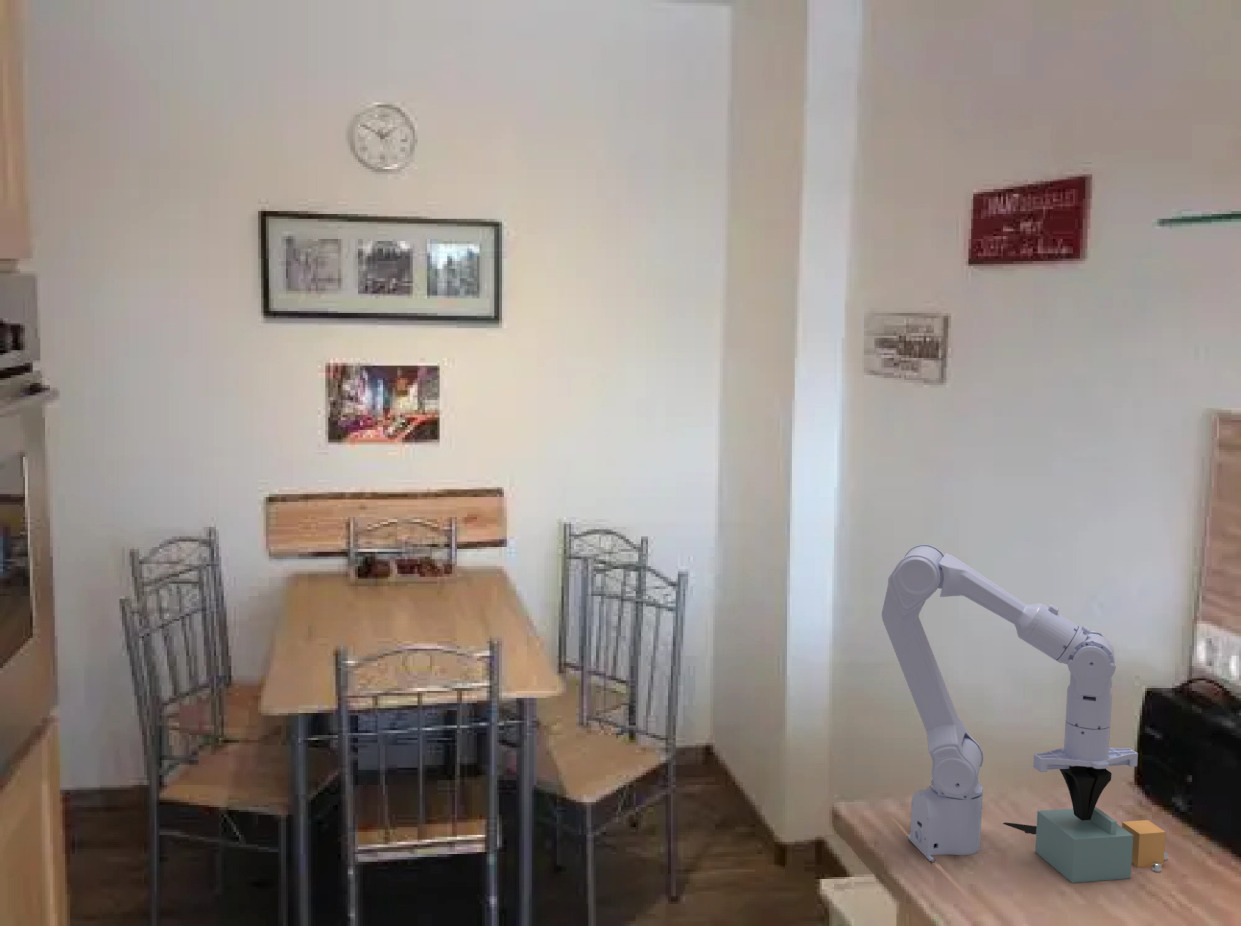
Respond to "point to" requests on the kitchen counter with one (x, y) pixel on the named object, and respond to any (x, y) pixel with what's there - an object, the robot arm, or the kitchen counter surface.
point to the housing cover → (1084, 845)
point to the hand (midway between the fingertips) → (1082, 817)
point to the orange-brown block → (1146, 842)
